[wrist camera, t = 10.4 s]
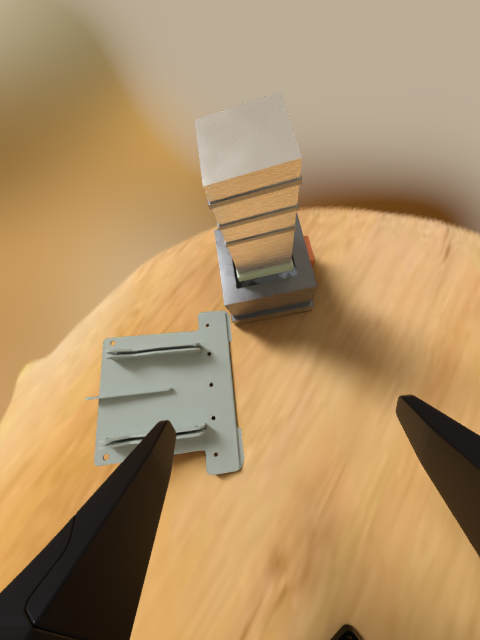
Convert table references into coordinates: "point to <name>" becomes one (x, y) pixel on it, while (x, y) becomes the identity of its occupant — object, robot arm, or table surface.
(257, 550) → the table surface
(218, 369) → the metal bracket
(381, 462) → the table surface
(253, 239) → the column
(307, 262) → the collar
